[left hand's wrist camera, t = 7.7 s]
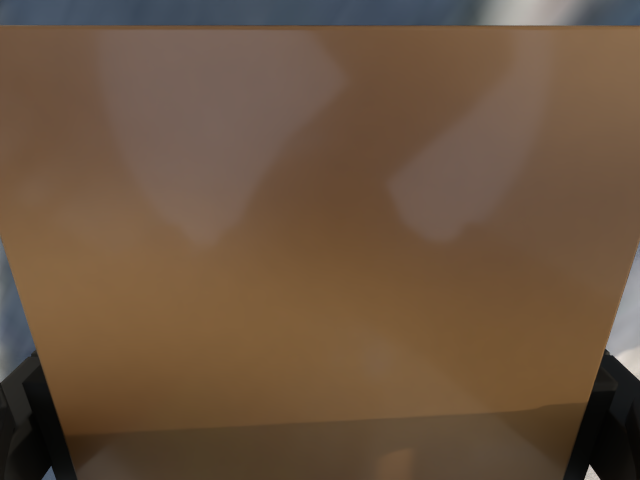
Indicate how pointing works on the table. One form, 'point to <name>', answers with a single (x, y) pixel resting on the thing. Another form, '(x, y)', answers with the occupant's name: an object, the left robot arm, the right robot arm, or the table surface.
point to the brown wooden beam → (320, 242)
